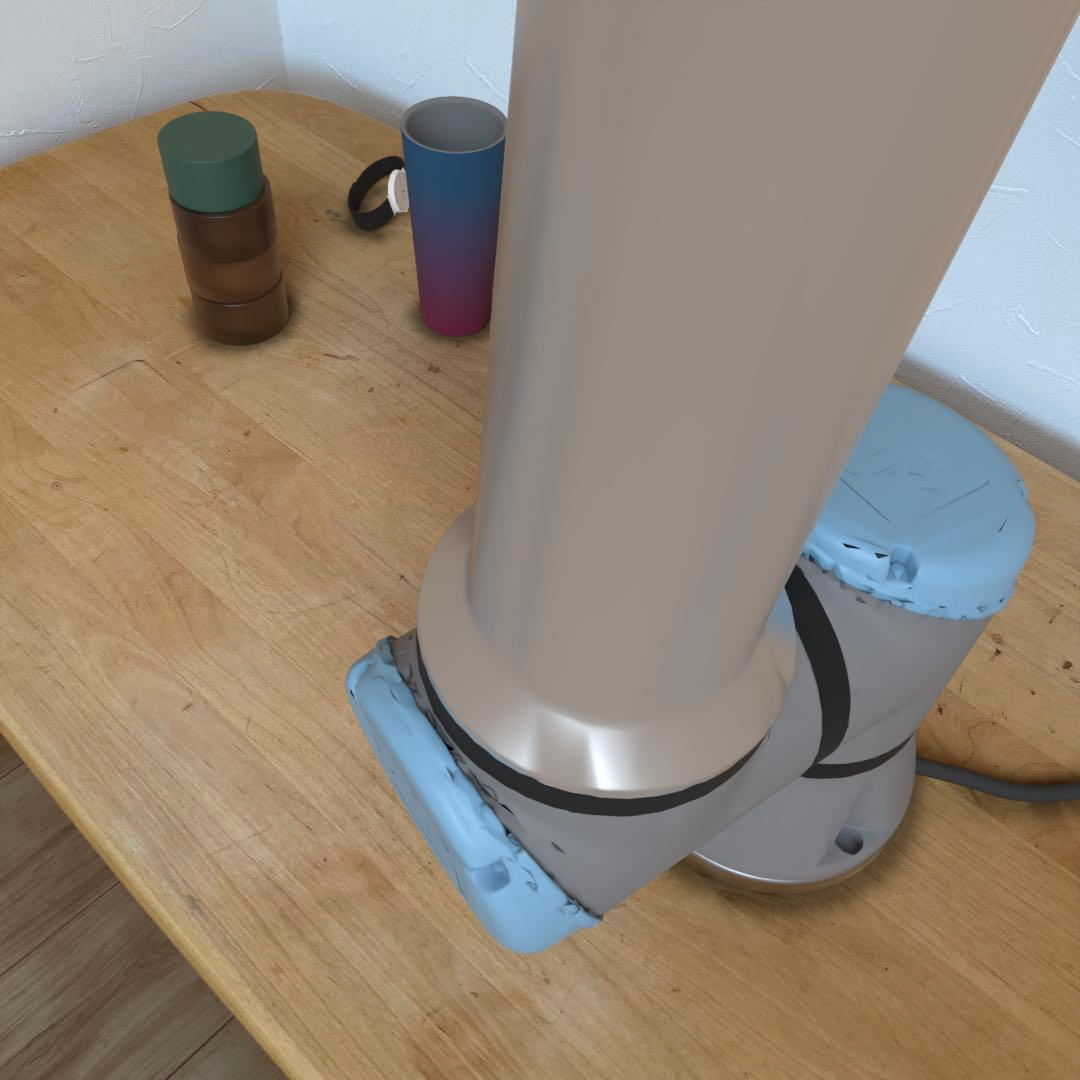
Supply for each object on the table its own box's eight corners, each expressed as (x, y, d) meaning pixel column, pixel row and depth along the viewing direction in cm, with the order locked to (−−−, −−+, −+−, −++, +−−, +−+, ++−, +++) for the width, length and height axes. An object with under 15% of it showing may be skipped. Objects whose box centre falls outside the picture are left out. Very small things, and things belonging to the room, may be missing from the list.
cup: (435, 355, 75) (430, 163, 64) (393, 301, 79) (381, 109, 67) (518, 328, 78) (529, 137, 66) (474, 276, 81) (477, 87, 70)
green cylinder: (280, 172, 70) (273, 122, 67) (236, 221, 66) (227, 170, 64) (198, 152, 71) (188, 102, 68) (150, 199, 67) (137, 149, 64)
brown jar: (307, 300, 78) (289, 172, 70) (264, 356, 74) (240, 226, 66) (224, 278, 79) (197, 149, 71) (177, 332, 75) (143, 201, 67)
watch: (409, 141, 85) (433, 179, 87) (364, 157, 87) (388, 193, 90) (377, 201, 81) (402, 238, 83) (330, 215, 83) (356, 251, 86)
